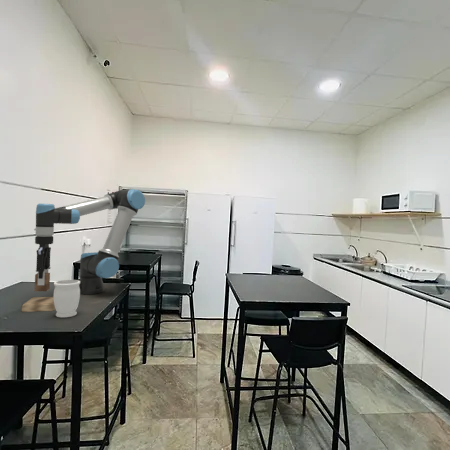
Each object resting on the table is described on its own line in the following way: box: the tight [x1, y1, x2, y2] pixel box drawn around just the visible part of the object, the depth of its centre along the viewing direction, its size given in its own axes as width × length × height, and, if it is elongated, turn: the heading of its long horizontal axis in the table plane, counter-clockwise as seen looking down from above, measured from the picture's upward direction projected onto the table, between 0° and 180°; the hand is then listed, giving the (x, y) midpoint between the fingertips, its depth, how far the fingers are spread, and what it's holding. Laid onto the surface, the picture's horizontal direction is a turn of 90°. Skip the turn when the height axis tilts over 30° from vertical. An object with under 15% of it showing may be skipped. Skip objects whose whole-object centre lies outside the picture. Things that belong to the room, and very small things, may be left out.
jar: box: [53, 279, 81, 318], centre depth 137 cm, size 11×10×15 cm
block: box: [34, 272, 51, 292], centre depth 146 cm, size 5×5×8 cm
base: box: [21, 296, 56, 313], centre depth 147 cm, size 13×14×3 cm
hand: (42, 283), depth 147 cm, fingers closed on block, 5 cm apart
